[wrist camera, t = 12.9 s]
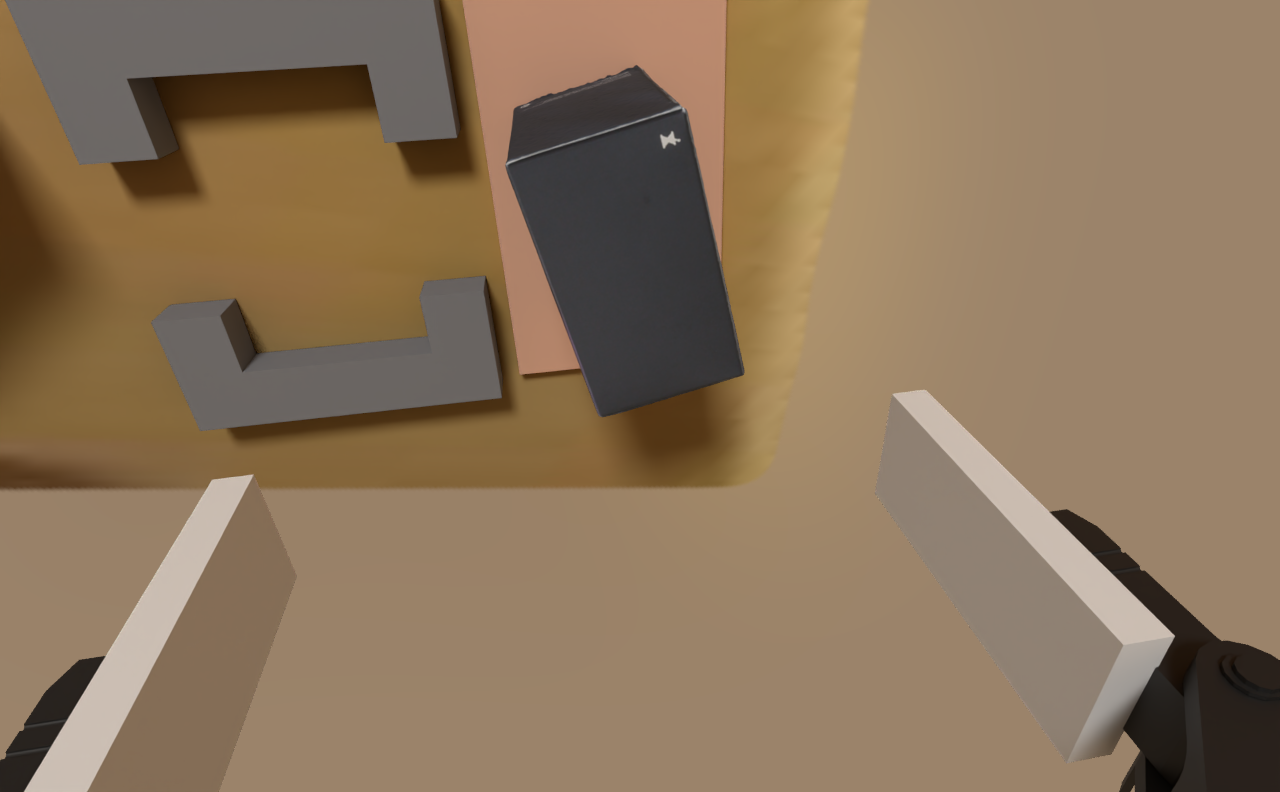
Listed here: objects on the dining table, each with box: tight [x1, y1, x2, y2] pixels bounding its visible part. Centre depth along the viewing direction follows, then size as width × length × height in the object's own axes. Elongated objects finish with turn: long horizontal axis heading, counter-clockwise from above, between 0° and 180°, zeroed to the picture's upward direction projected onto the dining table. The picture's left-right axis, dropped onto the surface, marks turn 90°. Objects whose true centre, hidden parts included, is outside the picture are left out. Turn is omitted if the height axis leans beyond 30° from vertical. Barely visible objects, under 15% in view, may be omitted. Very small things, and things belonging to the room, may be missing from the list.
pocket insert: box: [5, 0, 503, 431], centre depth 31 cm, size 15×19×2 cm
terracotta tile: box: [463, 0, 726, 375], centre depth 33 cm, size 11×18×1 cm, turn 3°
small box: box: [505, 65, 744, 417], centre depth 28 cm, size 11×6×10 cm, turn 16°
